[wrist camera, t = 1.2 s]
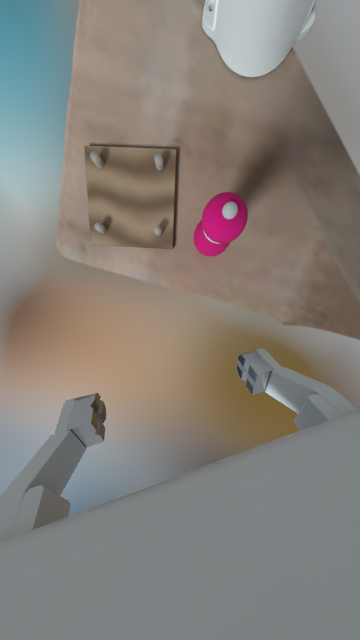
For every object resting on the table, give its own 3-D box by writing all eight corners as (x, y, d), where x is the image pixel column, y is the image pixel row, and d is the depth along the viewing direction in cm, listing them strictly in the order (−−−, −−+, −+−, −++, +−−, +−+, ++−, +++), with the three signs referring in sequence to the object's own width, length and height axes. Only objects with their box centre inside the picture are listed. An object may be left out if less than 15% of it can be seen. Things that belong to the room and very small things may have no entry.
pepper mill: (194, 260, 41) (202, 246, 21) (191, 225, 39) (196, 176, 20) (226, 256, 40) (264, 237, 21) (224, 220, 38) (264, 165, 19)
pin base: (87, 149, 36) (77, 136, 33) (176, 153, 36) (175, 139, 32) (93, 245, 40) (84, 242, 37) (172, 248, 40) (171, 246, 37)
